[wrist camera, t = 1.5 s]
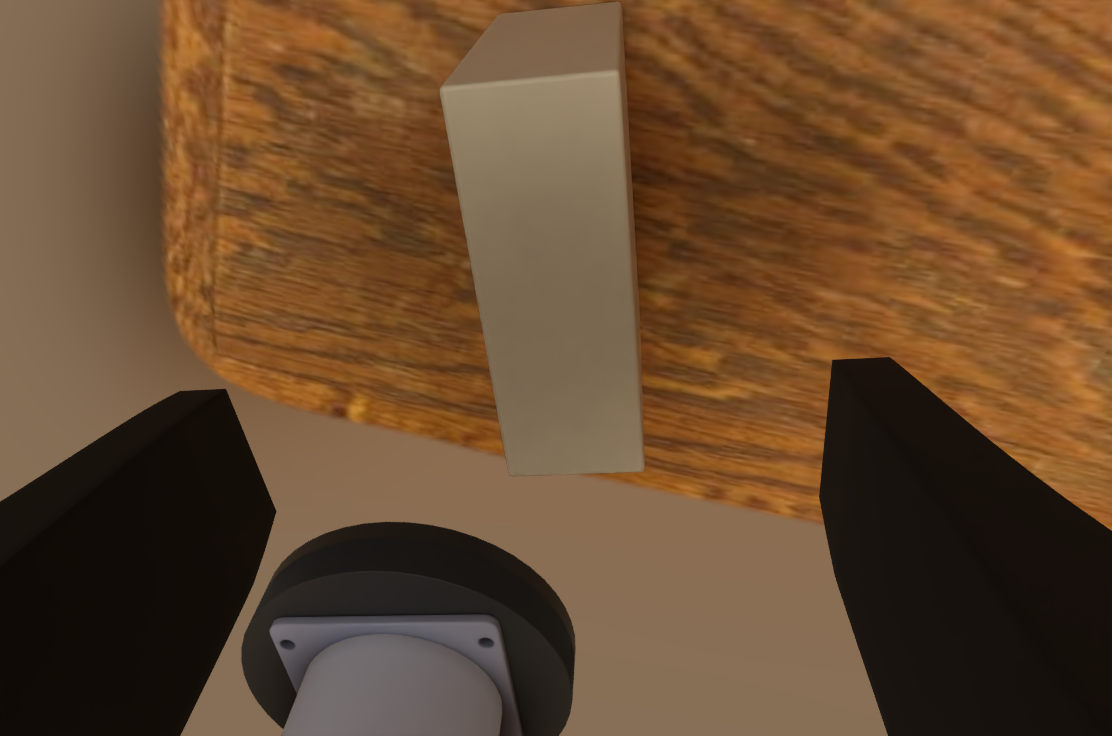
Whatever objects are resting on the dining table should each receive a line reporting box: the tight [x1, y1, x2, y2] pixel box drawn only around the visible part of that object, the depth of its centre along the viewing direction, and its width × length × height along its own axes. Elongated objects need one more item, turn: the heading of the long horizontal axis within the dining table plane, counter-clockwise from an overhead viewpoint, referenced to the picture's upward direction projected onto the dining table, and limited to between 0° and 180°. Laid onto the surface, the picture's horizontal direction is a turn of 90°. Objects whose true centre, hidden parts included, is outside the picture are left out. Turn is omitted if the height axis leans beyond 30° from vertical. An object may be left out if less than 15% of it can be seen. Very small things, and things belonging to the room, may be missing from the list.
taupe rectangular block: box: [440, 2, 645, 476], centre depth 15 cm, size 7×2×6 cm, turn 6°
